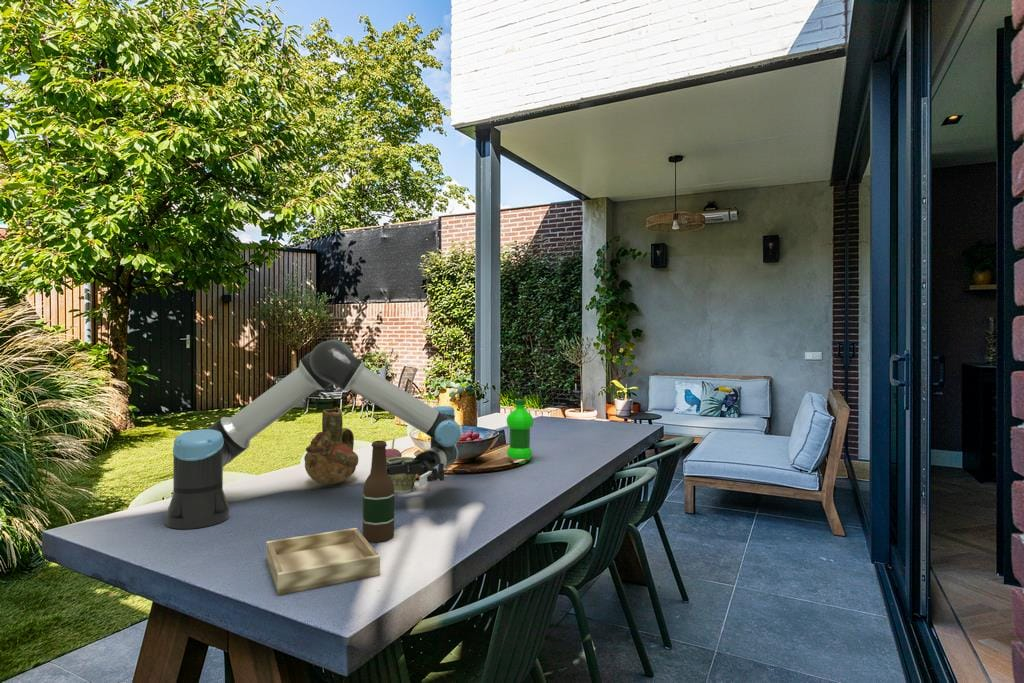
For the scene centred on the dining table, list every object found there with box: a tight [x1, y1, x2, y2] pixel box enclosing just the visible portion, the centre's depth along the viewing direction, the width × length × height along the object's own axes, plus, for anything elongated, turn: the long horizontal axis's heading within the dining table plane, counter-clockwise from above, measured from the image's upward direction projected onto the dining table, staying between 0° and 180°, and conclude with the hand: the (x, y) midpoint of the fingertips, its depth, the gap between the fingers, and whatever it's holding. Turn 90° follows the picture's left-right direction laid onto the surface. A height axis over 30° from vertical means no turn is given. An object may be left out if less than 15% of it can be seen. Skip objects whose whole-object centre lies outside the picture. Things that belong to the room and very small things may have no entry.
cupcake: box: [386, 437, 403, 464], centre depth 217 cm, size 9×8×12 cm
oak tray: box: [265, 527, 381, 596], centre depth 124 cm, size 20×20×4 cm
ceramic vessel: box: [303, 408, 359, 485], centre depth 192 cm, size 17×26×25 cm, turn 170°
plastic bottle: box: [506, 398, 534, 465], centre depth 227 cm, size 10×10×25 cm
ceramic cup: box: [387, 456, 420, 495], centre depth 184 cm, size 13×10×10 cm
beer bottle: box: [362, 440, 395, 544], centre depth 142 cm, size 8×8×24 cm
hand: (396, 479), depth 152 cm, fingers open, 13 cm apart
